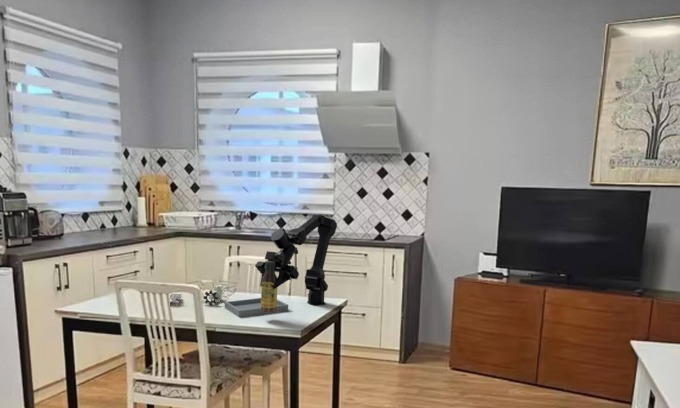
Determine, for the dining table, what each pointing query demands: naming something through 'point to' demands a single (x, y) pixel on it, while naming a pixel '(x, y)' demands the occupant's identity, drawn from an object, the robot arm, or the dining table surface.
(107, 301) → the dining table surface
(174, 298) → the penguin figurine
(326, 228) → the robot arm
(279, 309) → the tray
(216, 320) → the dining table surface
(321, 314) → the dining table surface
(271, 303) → the sauce bottle
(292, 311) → the dining table surface
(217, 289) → the valve
